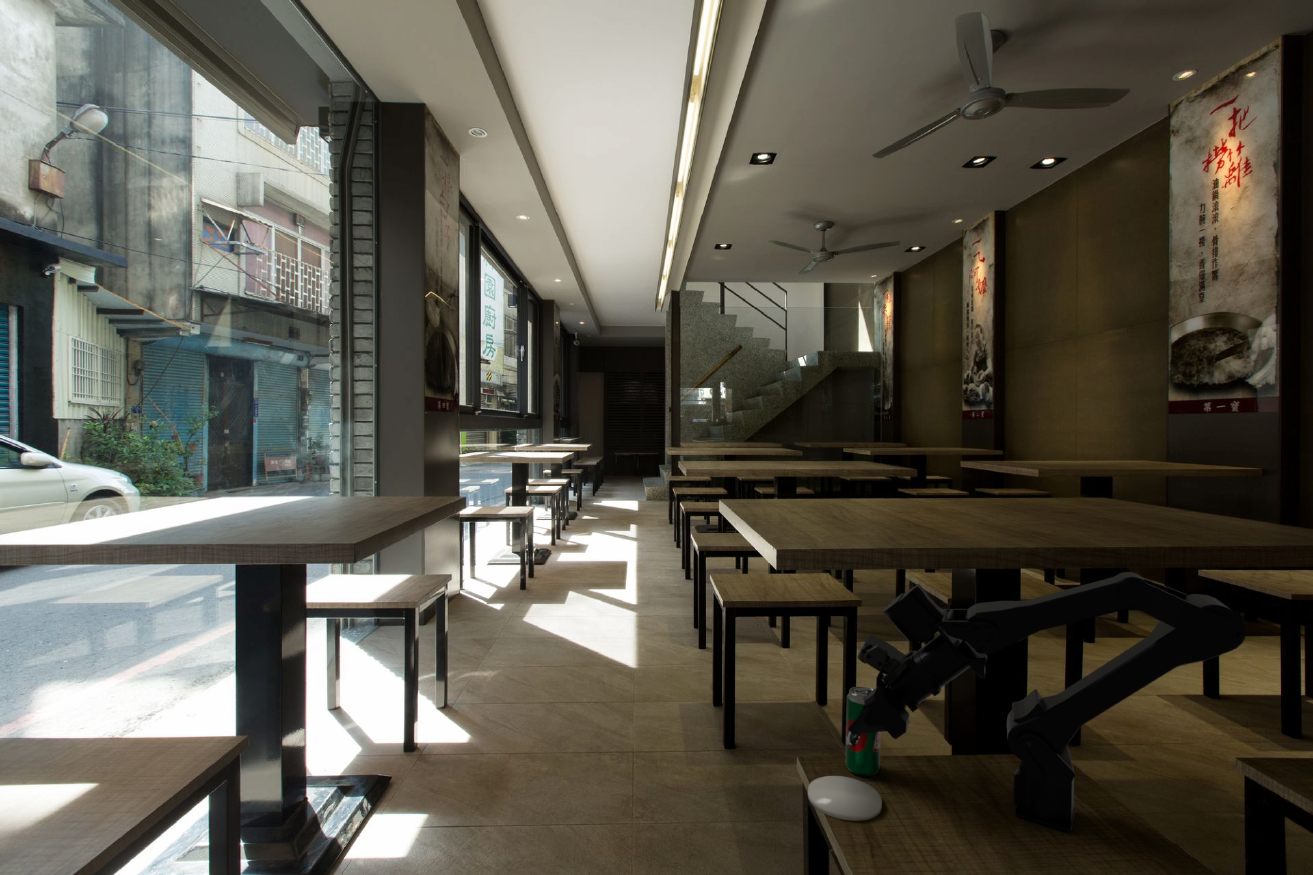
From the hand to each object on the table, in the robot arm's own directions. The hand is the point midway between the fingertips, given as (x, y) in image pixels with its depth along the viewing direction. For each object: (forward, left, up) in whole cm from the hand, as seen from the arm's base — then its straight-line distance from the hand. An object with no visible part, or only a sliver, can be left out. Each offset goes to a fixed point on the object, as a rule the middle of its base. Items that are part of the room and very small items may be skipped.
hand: (853, 724), depth 103 cm
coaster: (-2, +10, -7) cm, 12 cm away
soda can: (-1, 0, -7) cm, 7 cm away
